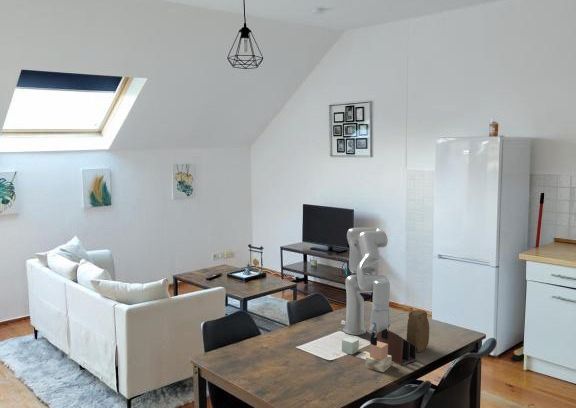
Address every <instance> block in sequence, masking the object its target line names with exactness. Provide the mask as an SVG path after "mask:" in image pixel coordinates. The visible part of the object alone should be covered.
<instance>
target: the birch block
mask: <svg viewBox="0 0 576 408" xmlns="http://www.w3.org/2000/svg"><path fill="white" fill-rule="evenodd" d="M392 362H393V361H392V356H391V355H388V356H387V357H386V358H384V359H382V360H378V359H375V358H372V357H370V355H369V356H367V357H366V360H365V368H366V369H370V370H375V371H379V372H382V373H385V371H387V370H388V369H389V368H391V366H392Z"/></svg>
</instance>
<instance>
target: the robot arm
mask: <svg viewBox="0 0 576 408" xmlns="http://www.w3.org/2000/svg"><path fill="white" fill-rule="evenodd" d="M346 239H347V243H348V246H349V257H348V258H349V259H348V269H349V272H350V273H352V274H351V275H350V274H349V275H347V277H346V278H345V281H344V282H345V290H346V292H345V293H346V315H345V318H346V319H345V320H344V319H342V320H341V321H340V326H343V327H342V332H343V333H345V334H347V335H351V336H361V335H364V334H366V333H367V329H366V328H365V327H364V319H365V318H364V315H365V299H364V297H363V296H362V295H361V294H362V293H372V307H371V309H372V310H371V313H370V320H369V328H368V332H369V333H368V334H369V336H370V344H371V345H375V346H377V334H378V333H379V332H381V331H382V335H381V338H383V339H386V340H387V339H388V331H390V329H389V328H390V326H391V324H390V323H391V319H390V312H389V311H390V294H391V293H390V289H391V283H390V280H389V278H388V277H387V276H386V275H384V274H379V269H380V268H379V267H380V264H379V260H380V258H381V257H380V252H379V248H385V247H387V245H388V240H389V239H388V235H387V234H386V232H385V231H384V230H383V229H381V228H379V227H350V228H349V229H348V230H347V233H346ZM374 329H375V330H374ZM376 330H377V331H376ZM374 332H376V333H375V334H374ZM370 344H369V345H370Z"/></svg>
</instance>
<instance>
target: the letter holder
mask: <svg viewBox="0 0 576 408" xmlns="http://www.w3.org/2000/svg"><path fill="white" fill-rule="evenodd" d="M374 330H375V329H374ZM376 331H377V330H376ZM373 333H374V334H375V333H376V332H373ZM381 335H382V331H381V332H379V333H378V334H377V341H379V342H383V343H386V344H388V355H391V356H392V362H393V363H395V364H397V365H399V366H405V365H407V364H410V363H411V364H412V363H413V362H416V359H417V358H416V357H417V354H416V353H417V352H416V346H415V345H414V344H412V343H411V342H409V341H407V339H405V338H403V337H402V336H401V335H399V334H397V333H396V332H395V333H394V332H393V331H391V330H389V331H388V339H387V340H386V339H383V338H381Z"/></svg>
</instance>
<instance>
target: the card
mask: <svg viewBox="0 0 576 408" xmlns="http://www.w3.org/2000/svg"><path fill="white" fill-rule="evenodd" d="M369 355H370V351H369V352H368V351H366V350H365V351H362V352H360V353H359V354H357V355H355V358H358V359H361V360H365V361H366V357H367V356H369Z"/></svg>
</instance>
